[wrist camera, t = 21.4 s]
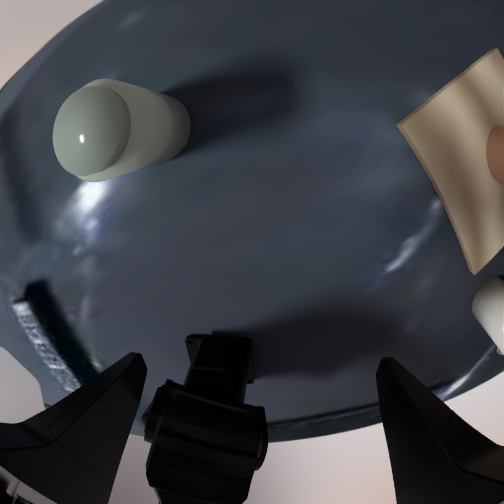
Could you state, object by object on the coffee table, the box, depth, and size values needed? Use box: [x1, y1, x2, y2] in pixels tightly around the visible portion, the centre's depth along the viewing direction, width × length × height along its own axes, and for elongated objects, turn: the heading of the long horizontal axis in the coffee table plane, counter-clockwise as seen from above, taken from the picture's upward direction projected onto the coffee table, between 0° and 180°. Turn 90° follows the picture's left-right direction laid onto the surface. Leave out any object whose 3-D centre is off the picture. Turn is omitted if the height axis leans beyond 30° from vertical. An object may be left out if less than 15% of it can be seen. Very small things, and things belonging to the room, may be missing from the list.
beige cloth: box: [396, 48, 504, 275], centre depth 15 cm, size 16×16×1 cm
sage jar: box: [53, 79, 191, 182], centre depth 14 cm, size 5×5×9 cm
